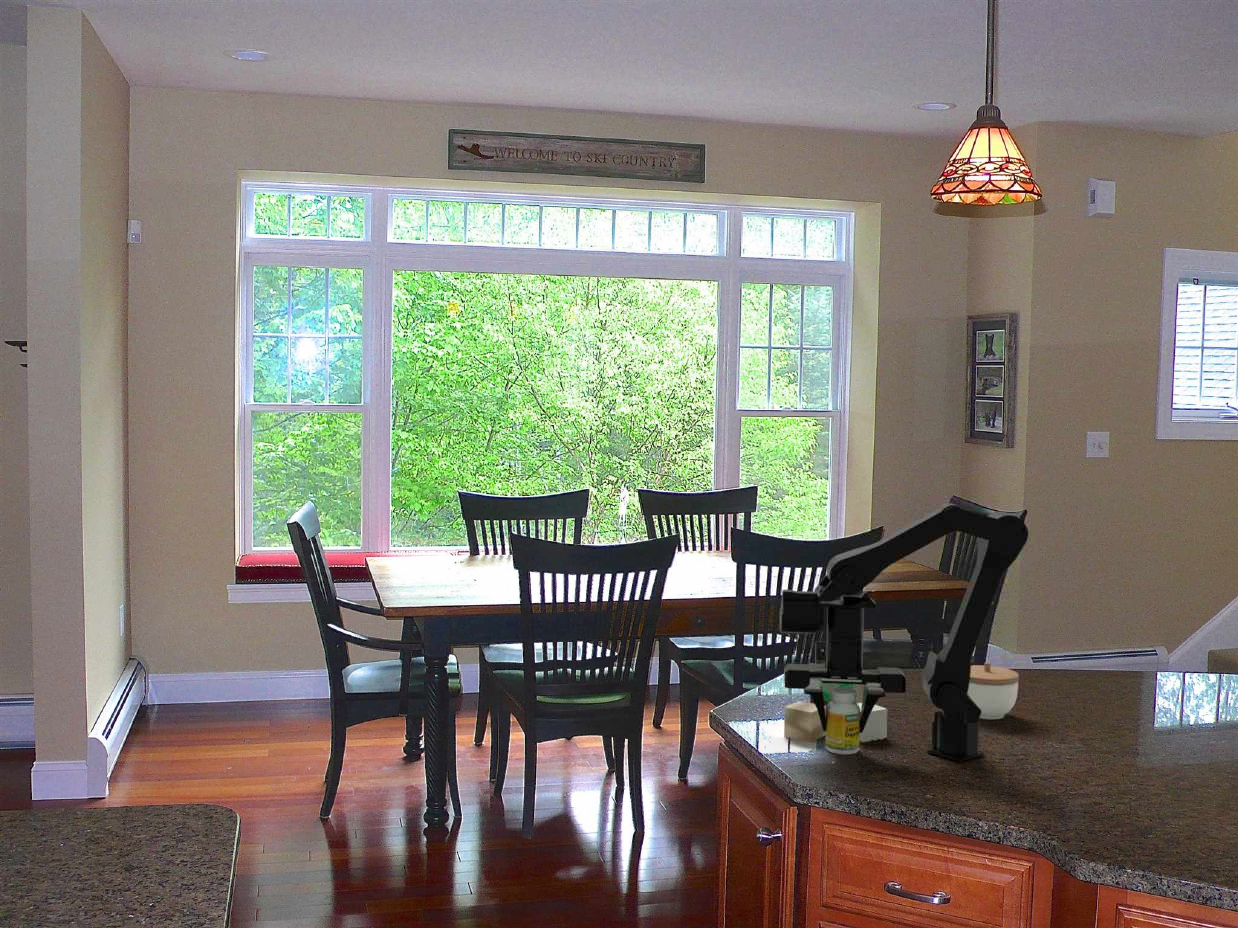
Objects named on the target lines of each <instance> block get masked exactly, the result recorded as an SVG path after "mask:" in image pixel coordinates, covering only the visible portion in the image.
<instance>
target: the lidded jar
mask: <svg viewBox="0 0 1238 928" xmlns="http://www.w3.org/2000/svg"><path fill="white" fill-rule="evenodd" d="M991 664H992V663H991V662H987V661H986V662H984V665H979V664H977V665H975V664H973V665H972V664H971V674H970V683H969V688H968V693H967V694H968V695H969V696H970V698H971V699H972V700H973V701H974V702H975V704H976V705H977V706H978V707H979V708H980V710H981V711H982V712H981V715H980V717H979V719H981V720H1000V719H1003V718H1004V717H1005V715H1006V714H1008V713H1009V712H1010V711H1011V710H1012V708H1013V707H1014V705H1015V704H1016V700H1017V696H1018V692H1019V691H1018V690H1019V681H1020V675H1019V673H1018V672H1017V671H1015V670H1012V669H1010V668H1006V667H1001V666H1000V667H999V666H993V665H991Z"/></svg>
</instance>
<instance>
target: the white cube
mask: <svg viewBox="0 0 1238 928" xmlns="http://www.w3.org/2000/svg"><path fill="white" fill-rule="evenodd" d="M855 703H856V704H858V706H859V707H860V714H861V707H862V702H858V703H857V702H855ZM887 731H888V708H885V707H883V706H879V705H878V704H875V706H874V707H873V709H872V711H871V713H870V715H869V718H868V720H867V723H866V725H865V728H864V730H863V732H862V733H860V738H859V742H862V743H867V742H872V741H871V740H874V741H878V740H877V739H880V740H884V738H886V739H887V736H888V735H887V733H888V732H887Z"/></svg>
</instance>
